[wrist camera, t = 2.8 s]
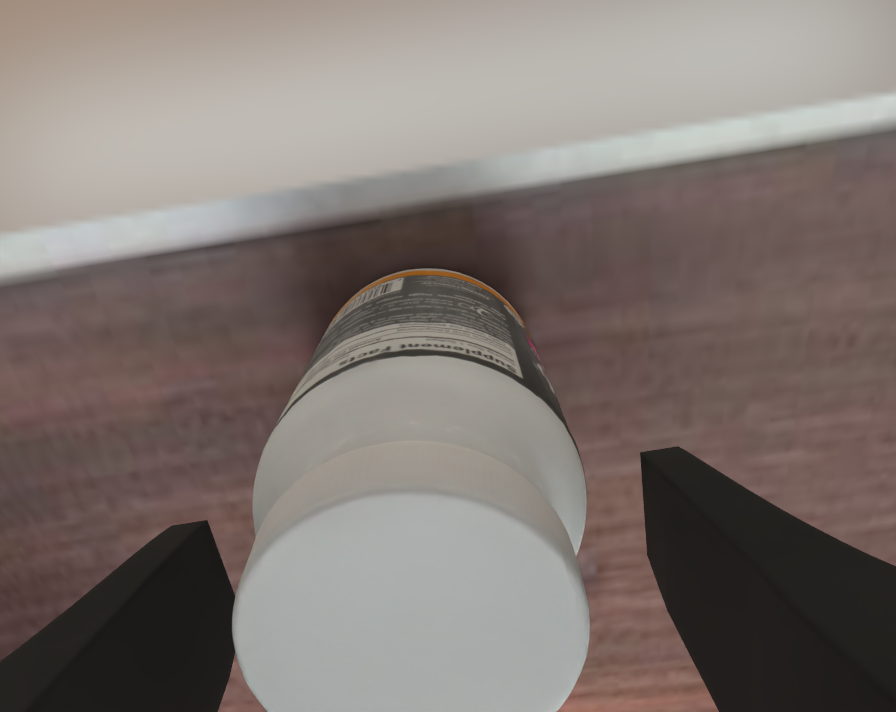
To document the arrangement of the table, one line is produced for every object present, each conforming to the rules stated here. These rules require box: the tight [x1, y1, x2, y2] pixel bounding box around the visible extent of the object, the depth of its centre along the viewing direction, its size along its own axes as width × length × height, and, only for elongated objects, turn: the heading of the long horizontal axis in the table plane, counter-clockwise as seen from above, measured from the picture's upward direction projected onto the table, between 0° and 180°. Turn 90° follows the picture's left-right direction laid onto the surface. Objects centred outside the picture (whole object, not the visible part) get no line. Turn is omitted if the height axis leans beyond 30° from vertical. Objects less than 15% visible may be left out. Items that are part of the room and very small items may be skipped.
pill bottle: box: [232, 268, 590, 712], centre depth 13 cm, size 6×6×10 cm
